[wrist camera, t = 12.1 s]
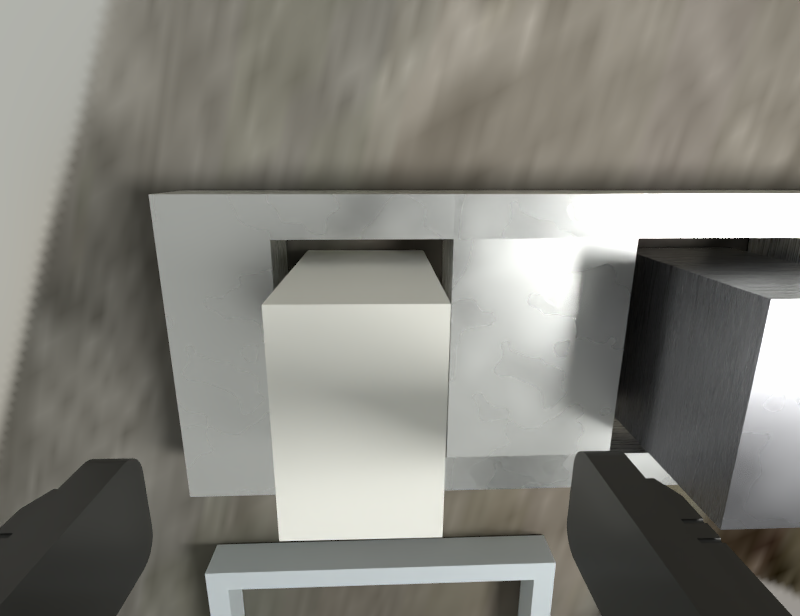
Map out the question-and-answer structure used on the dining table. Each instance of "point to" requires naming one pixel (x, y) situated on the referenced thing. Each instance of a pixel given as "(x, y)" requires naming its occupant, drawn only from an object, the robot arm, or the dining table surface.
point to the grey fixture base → (523, 333)
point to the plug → (358, 395)
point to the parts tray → (382, 567)
